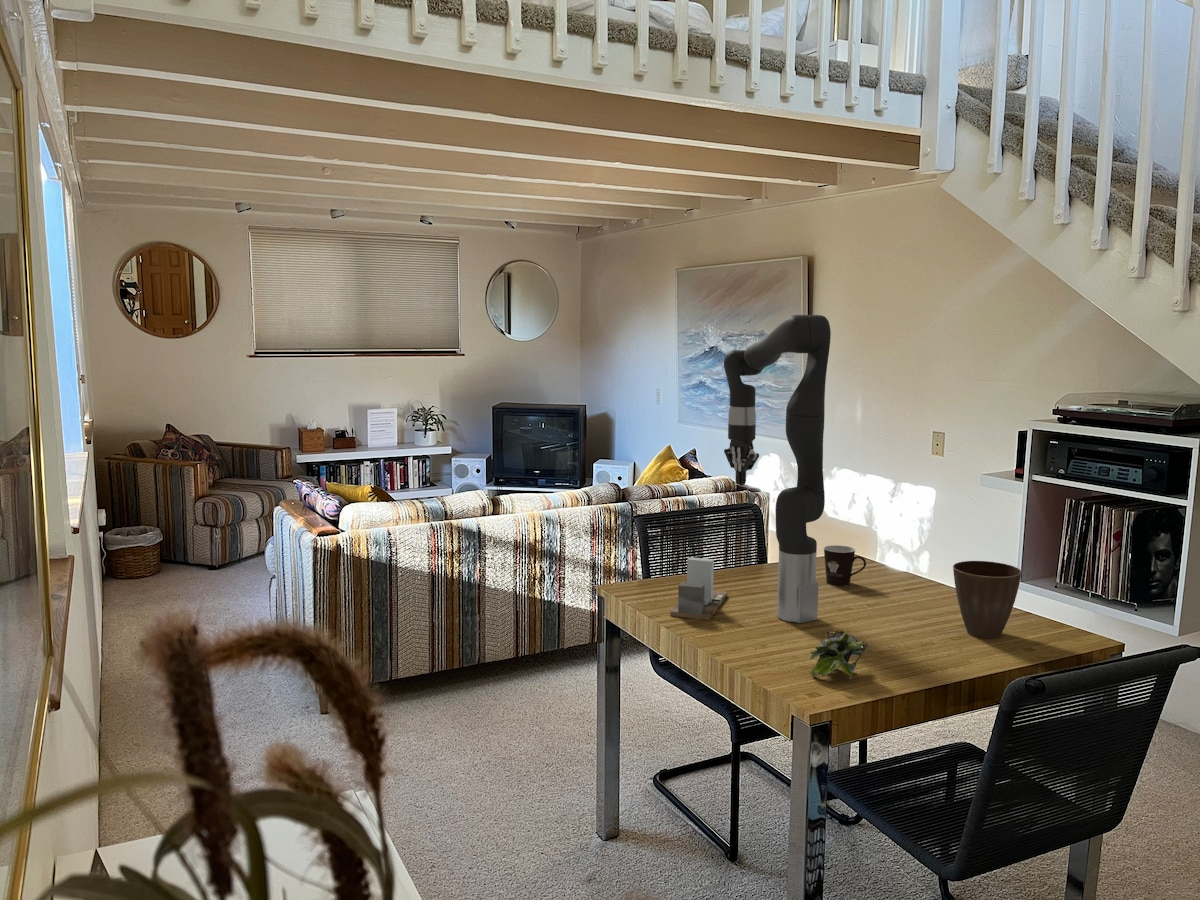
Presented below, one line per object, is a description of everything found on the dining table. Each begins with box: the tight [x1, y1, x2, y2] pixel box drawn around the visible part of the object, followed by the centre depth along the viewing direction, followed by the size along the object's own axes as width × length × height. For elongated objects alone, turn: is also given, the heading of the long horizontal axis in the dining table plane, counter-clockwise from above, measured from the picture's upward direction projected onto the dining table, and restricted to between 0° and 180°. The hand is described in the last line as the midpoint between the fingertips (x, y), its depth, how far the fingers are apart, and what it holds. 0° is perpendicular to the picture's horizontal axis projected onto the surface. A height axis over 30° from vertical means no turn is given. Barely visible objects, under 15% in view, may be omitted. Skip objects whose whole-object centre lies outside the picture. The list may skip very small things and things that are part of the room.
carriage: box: [686, 556, 720, 605], centre depth 236 cm, size 8×8×11 cm
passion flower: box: [809, 629, 869, 683], centre depth 191 cm, size 11×11×12 cm
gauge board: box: [670, 581, 728, 621], centre depth 239 cm, size 22×10×8 cm, turn 160°
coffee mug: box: [823, 544, 867, 587], centre depth 259 cm, size 12×9×10 cm
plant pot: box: [952, 560, 1022, 639], centre depth 217 cm, size 15×15×16 cm
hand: (740, 484), depth 255 cm, fingers closed
